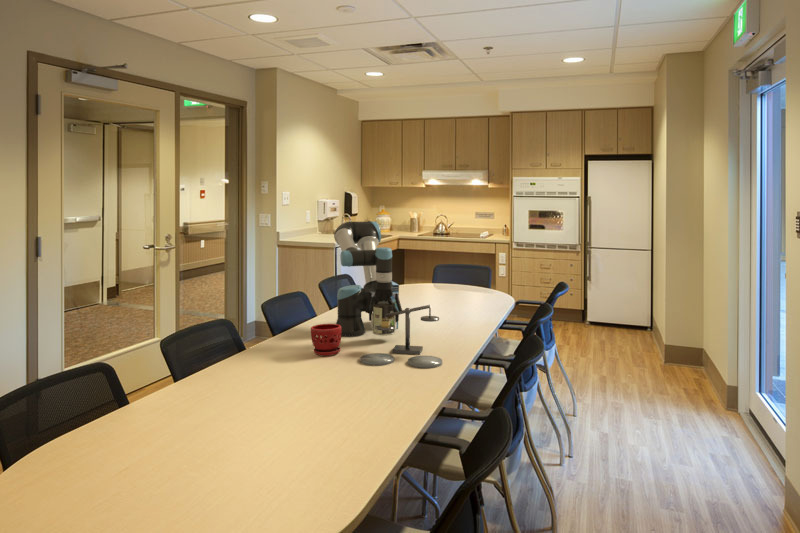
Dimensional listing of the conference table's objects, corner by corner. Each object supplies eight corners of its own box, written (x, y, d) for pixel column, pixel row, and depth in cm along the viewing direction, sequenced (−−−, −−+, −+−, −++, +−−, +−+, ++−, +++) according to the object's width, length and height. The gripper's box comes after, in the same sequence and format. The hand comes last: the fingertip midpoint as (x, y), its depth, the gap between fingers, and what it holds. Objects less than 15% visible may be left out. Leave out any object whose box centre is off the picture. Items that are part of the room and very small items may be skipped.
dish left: (356, 364, 235) (356, 361, 235) (364, 355, 249) (364, 352, 249) (390, 366, 233) (390, 363, 233) (396, 356, 246) (396, 353, 246)
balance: (374, 352, 253) (374, 304, 251) (379, 347, 261) (378, 301, 259) (437, 355, 248) (438, 306, 246) (440, 350, 256) (440, 303, 253)
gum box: (380, 321, 314) (380, 279, 311) (389, 321, 316) (389, 279, 313) (389, 329, 296) (389, 284, 293) (399, 329, 297) (399, 284, 294)
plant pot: (345, 350, 257) (345, 323, 256) (335, 358, 244) (335, 330, 243) (317, 348, 260) (317, 322, 259) (306, 356, 247) (305, 328, 246)
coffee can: (396, 330, 277) (396, 301, 275) (392, 336, 267) (392, 306, 265) (375, 329, 279) (375, 300, 277) (370, 335, 269) (370, 305, 267)
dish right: (405, 367, 232) (405, 364, 232) (410, 357, 245) (410, 354, 245) (440, 369, 229) (440, 366, 229) (444, 359, 243) (444, 356, 243)
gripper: (358, 281, 268) (358, 328, 271) (406, 283, 264) (406, 331, 267) (362, 278, 275) (362, 325, 278) (409, 280, 271) (409, 327, 274)
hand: (383, 328), depth 273 cm, fingers closed on coffee can, 10 cm apart
